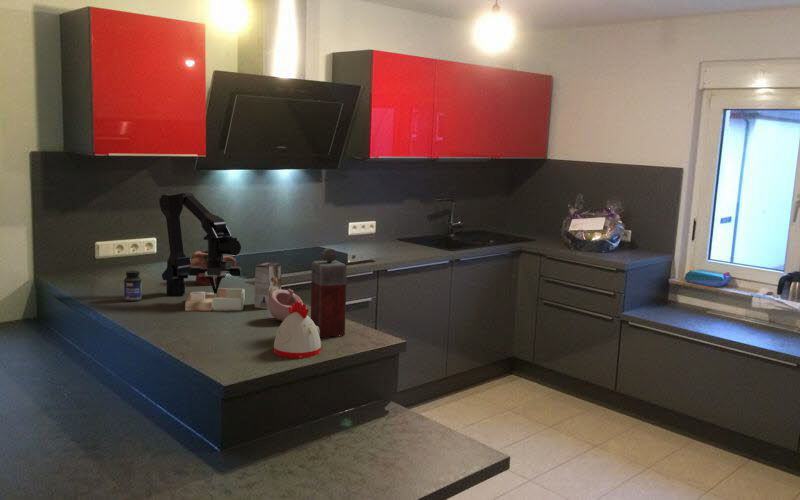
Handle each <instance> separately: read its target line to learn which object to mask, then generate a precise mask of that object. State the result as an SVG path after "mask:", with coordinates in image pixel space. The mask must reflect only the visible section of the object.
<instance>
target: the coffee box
mask: <svg viewBox="0 0 800 500" xmlns="http://www.w3.org/2000/svg"><path fill="white" fill-rule="evenodd" d="M277 289H282V263H281V262H272V261H266V262H262V263H258V264H255V265H254V308H258V309H264V310H269V309H268V299H269V296H270V294H271V293H272V292H273V291H274V290H277Z"/></svg>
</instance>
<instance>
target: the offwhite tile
mask: <svg viewBox="0 0 800 500" xmlns="http://www.w3.org/2000/svg"><path fill="white" fill-rule="evenodd" d="M191 292H192V294H191V301H204V300H205V293H206V291H191Z"/></svg>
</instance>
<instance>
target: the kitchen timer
mask: <svg viewBox="0 0 800 500" xmlns="http://www.w3.org/2000/svg"><path fill="white" fill-rule="evenodd" d="M309 310H310V309H309V308H307V304H306V303H303V305H302V303H301V302H299V304H298V301H295V304H292V307H289V312H290V315H289V316H288V317H286V318H285V319H284V321H281V323H280V325H279V327H278V329H277V330H276V332H275V338H274V342H273V353H274V355H276V354H277V356H278V355H279V357H282V356H283V357H282V358H287V357H289V359H304V358H303V357H307V358H311V356H312V357H315V355H316V356H318V355H320V354H321V353H322V341H321V338H320V337H319V333H320V330H319V327H318V326H316V325H315V324H314V322H313V321H312V320H311V316H309V315H308V314H309ZM320 352H321V353H320ZM319 353H320V354H319ZM317 354H318V355H317Z"/></svg>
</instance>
